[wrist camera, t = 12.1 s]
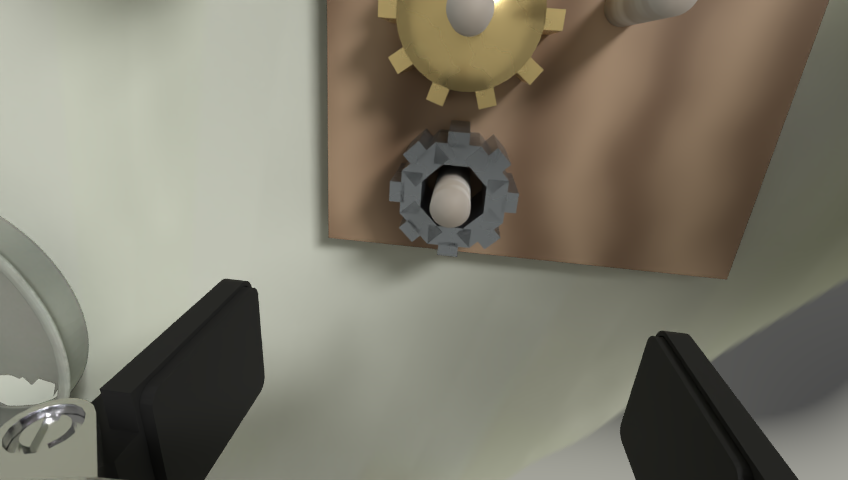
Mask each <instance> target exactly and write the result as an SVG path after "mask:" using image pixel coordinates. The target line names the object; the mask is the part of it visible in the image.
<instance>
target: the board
mask: <svg viewBox="0 0 848 480" xmlns="http://www.w3.org/2000/svg"><path fill="white" fill-rule="evenodd" d="M828 2H829V0H547V8H554V9H566V14H565V19H564V25H563V31H561V32H557V33H554V34H550V35H541V38H540V41H539V43H538V45H537V47H536V49H535V51H534V52H533V54H532V56H531V58H532V59H533V60H534V61H535V62H536V63H537V64H538V65H539V66H540V67H541V68H542V69H543V71H542V72H541V73H540V75H539V76H538V77H537V78H536V79H535V80H534V81H533V82H532V83H531V85H529V84H527V83H525V82H522V81H521V80H520V79H519V78H518V77H517V76H516V75H513V76H512V77H511V78H509V79H508V80H506V81H505V82H503V83H501V84H499V85H497V86H495V87H493V88H494V93H495V99H496V104H497V105H496V106H492V107H487V108H483V109H479V108H478V103H477V98H476V93H475V92H460V91H454V90H450V92H449V94H448V97H447V99H446V101H445V103H444V105H443V106H440V105H438V104H436V103H433V102H431V101H429V100H427V99H426V98H427V95H428V93H429V90H430V88H431V85H432V83H433V82H432V81H430V80H429V79H427V78H426V77H425V76H424V75H423V74H421V73H420V72H419V71H418V69H417V68H416V67H414V68H413V69H411V70H410V71H408V72H405V73H400V74H398V73H397V72H396V70H395V68H394V67H393V65H392V63H391V62H390V60H389V58H388V57H389V56H391V55H392V54H394V53H395V52H397V51H398V50H399V49H401V48H402V47H403V46H402V43H401V41H400V37H399V33H398V29H397V23H390V22H388V21H385V20H383V19H381V18H379V17H378V0H327V77H328V226H329V238H337V239H346V240H356V241H365V242H375V243H384V244H394V245H403V246H413V247H422V248H432V249H438V245H435V244H427V243H426V242H425V241H424V240H423V238H422V237H421V236H419V237H418V238H416V239H415V240H414V241H413V242H412V241H411V240H410V239H409V238H408V237H407V236H406V235H405V234H404V233H403V232H402V230H401V229H400V228H399V226H400V224H401V221H402V219H403V216H402V215H401V214H400V202H394V201H389V192H390V180H391V179H392V177H393V176H394V174H395V173H396V171H397V170H398V168H399V167H400V165H401V163H407V162H408V160H407V159H406V158H405V157H404V156H403V154H404V152H405V151H406V149H407V148H408V147H409V145H410V144H411V142H412V141H413V140H414V139H415V138H416V137H417V136H418V135H419V134H421V133H422V132H423V131H424V130H425V129H426V128H427V129H428V131H429V132H430V133H431V134H432V135H433V136H434V135H435V134H436V133H437V132H438V131H439V130H441V129H442V130H449V128H450V125H451V121H452V120H457V121H468V122H470V132H476V133H480V134H481V135H482V137H483V138H484V139H485V140H487V139H488V138H490V137H491V136H492V135H493V134H494V135H495V136H496V138H497V139H498V140H499V141H500V143H501V144H502V145H503V146H504V148H505V150H506V152H507V155H508V157H509V160H510V162H511V165H510V166H509V167H508V168H507V169H505V170H506V173H512V176H513V178H514V181H515V184H516V187H517V189H518V192H519V197H518V203H517V209H516V213H506V212H504V219H503V223H502V224H501V225H500V226H499V231H500V237H501V238H500V239H498V240H497V241H496V242H494V243H493V244H491V245H490V246H489V247H487V248H486V249H484V248H483V247H482V246H481V245H480V244H479V243H478V242H476V243H475V244H474V245H472V246H471V247H470V248H464V247H458V251H460V252H470V253H480V254H489V255H499V256H508V257H518V258H527V259H537V260H546V261H556V262H565V263H575V264H584V265H594V266H603V267H613V268H622V269H632V270H641V271H651V272H660V273H670V274H679V275H689V276H699V277H708V278H718V279H727V277H728V275H729V272H730V269H731V266H732V264H733V261H734V258H735V256H736V253H737V250H738V247H739V245H740V242H741V239H742V237H743V234H744V231H745V228H746V226H747V223H748V220H749V217H750V215H751V212H752V209H753V207H754V204H755V201H756V198H757V196H758V193H759V190H760V187H761V185H762V182H763V179H764V177H765V174H766V171H767V168H768V166H769V163H770V160H771V157H772V155H773V152H774V149H775V147H776V144H777V141H778V138H779V136H780V133H781V130H782V128H783V125H784V122H785V119H786V117H787V114H788V111H789V108H790V106H791V103H792V100H793V98H794V95H795V92H796V89H797V87H798V84H799V81H800V78H801V76H802V73H803V70H804V68H805V65H806V62H807V59H808V57H809V54H810V51H811V48H812V46H813V43H814V40H815V38H816V35H817V32H818V29H819V27H820V24H821V21H822V19H823V16H824V13H825V10H826V8H827V5H828ZM446 13H447V17H448V20H449V22H450V24H451V26H452V27H453V29H454V30H455V31H456V32H457V33H459V34H460V35H462V36H466V37H472V36H476V35H479V34H480V33H482V32H483V31H484V30H485V29H486V28H487V26H488V25H489V23H490V21H491V19H492V17H493V14H494V0H447V4H446ZM427 185H428V186H429V188H430V189H431V190H432V191H433V195H432V199H431V203H430V214H431V216H432V218H433V220H434V221H435V222H436V223H437V224H439V225H440V226H443V227H446V228H454V227H458V226H460V225H462V224H463V223H464V222H465V221H466V220H467V219H468V217H469V215H470V209H471V203H470V199H471V198H472V197H473V196H475V195H476V194H477V193H479V192H480V191H481V190H482V181H481V180H480V179H479V178H478V176H477V175H476V174H475V173H474V172H473V170H472V169H471V168H470V167H464V166H453V165H441V166H440V167H439V168H438V169H436V170H435V171H434V172H433V173H432V174H430V175H429V176H428V184H427Z"/></svg>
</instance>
